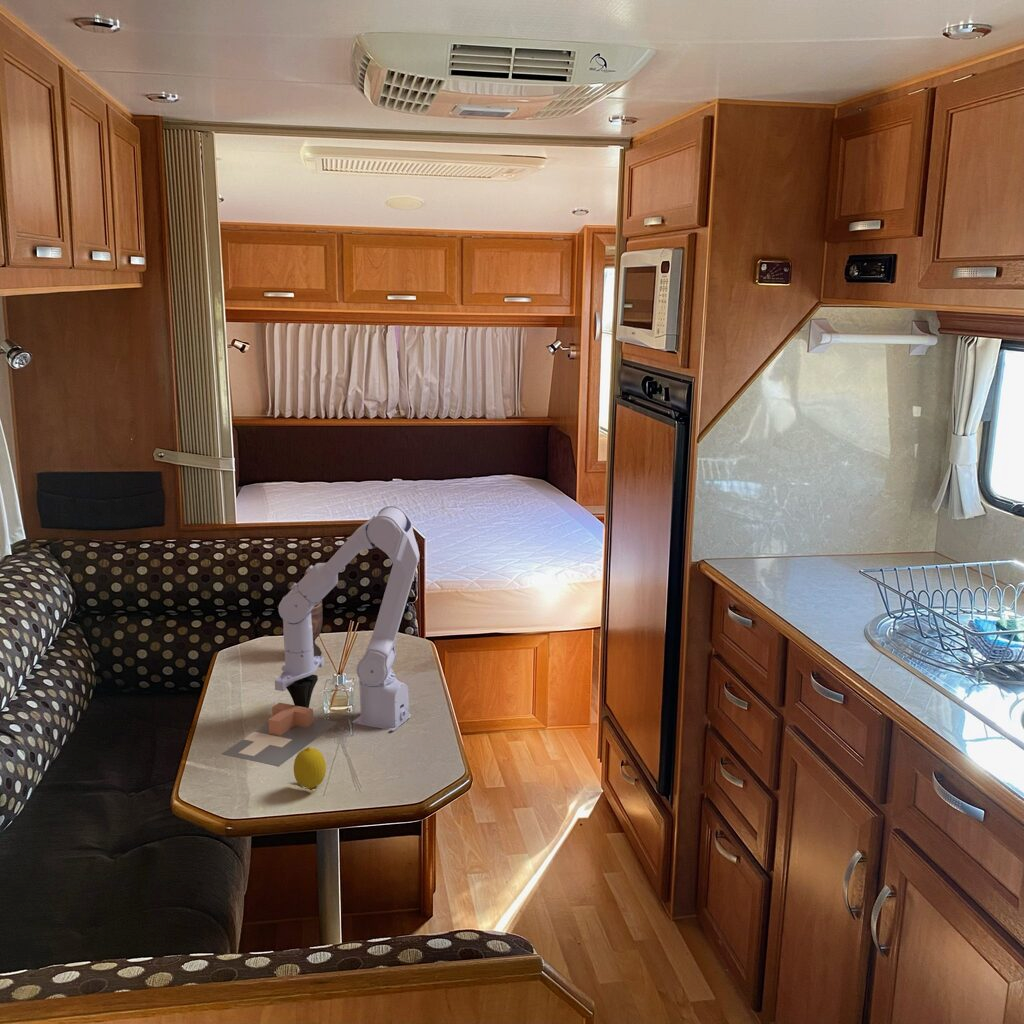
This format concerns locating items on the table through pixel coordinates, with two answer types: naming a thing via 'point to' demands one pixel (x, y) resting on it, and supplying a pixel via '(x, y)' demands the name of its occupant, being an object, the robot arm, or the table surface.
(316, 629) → the mortar and pestle
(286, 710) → the t block
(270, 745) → the slate board
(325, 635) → the table surface
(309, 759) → the lemon
